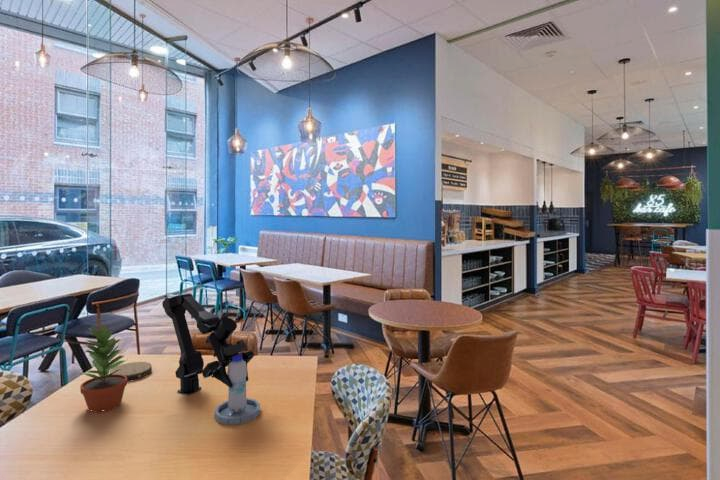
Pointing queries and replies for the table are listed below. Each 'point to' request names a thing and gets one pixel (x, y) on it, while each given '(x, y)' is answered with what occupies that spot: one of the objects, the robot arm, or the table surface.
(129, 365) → the wood slice
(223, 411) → the bowl
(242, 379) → the bottle
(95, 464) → the table surface
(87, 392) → the potted plant
